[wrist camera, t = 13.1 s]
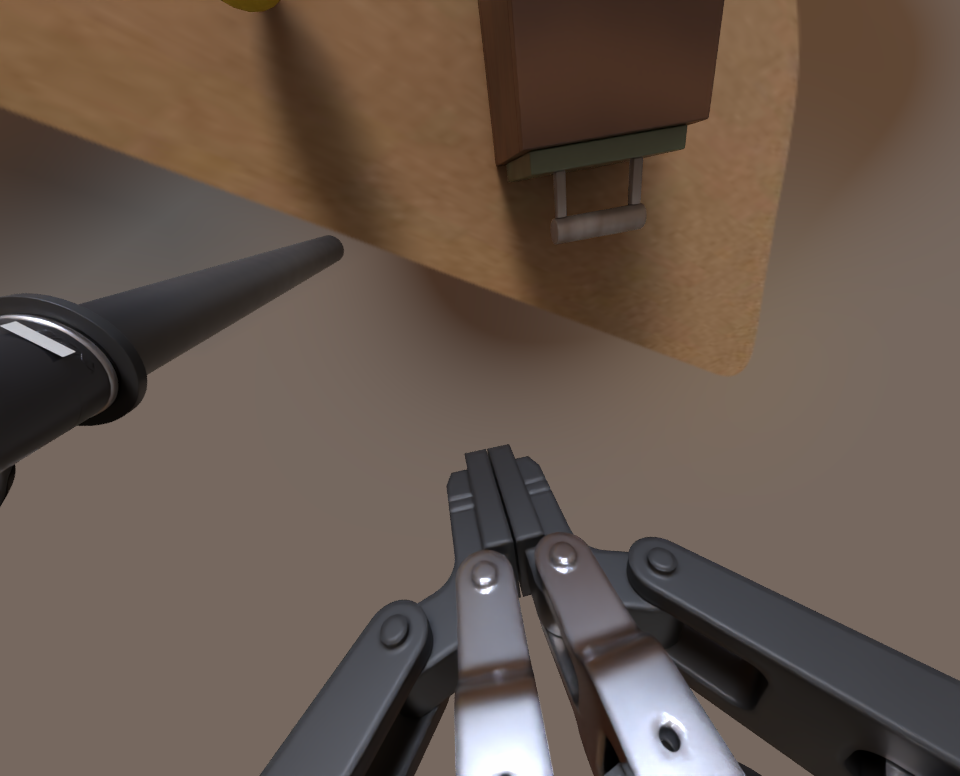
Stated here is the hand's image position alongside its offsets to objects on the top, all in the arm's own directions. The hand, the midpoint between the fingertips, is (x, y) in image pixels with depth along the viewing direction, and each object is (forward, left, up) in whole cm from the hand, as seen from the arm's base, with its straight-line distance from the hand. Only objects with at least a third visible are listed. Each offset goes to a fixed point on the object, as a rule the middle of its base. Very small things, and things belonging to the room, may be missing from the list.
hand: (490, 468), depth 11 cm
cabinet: (+15, +11, -22) cm, 29 cm away
